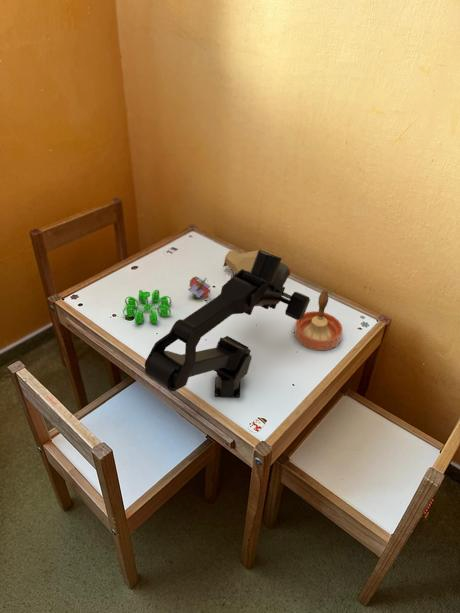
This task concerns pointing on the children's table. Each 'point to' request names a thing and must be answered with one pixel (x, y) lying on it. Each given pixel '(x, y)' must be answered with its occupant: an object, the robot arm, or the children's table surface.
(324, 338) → the hand bell
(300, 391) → the children's table surface
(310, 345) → the bowl
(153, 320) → the chandelier
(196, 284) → the geometric puzzle
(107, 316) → the children's table surface
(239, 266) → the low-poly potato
